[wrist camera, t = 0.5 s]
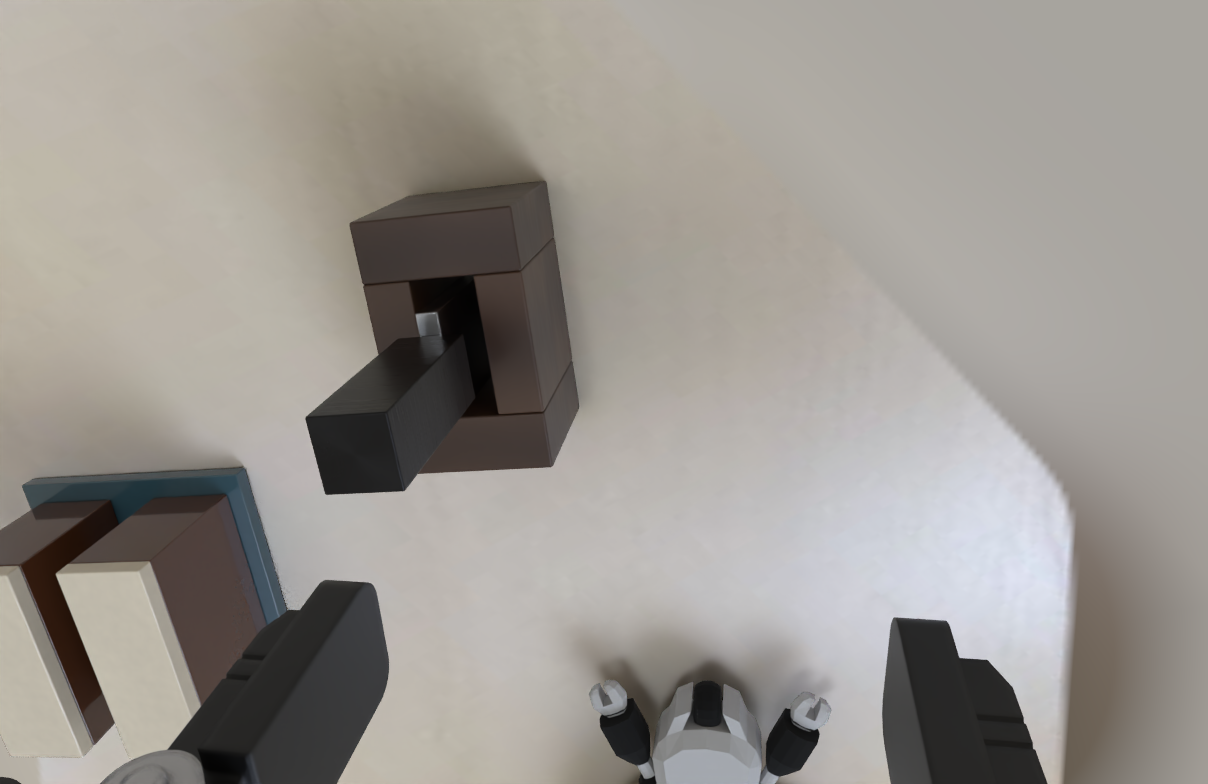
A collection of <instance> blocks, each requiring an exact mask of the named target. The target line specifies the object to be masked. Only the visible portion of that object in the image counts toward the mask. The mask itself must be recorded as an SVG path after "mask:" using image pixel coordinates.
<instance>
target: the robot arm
mask: <svg viewBox="0 0 1208 784" xmlns="http://www.w3.org/2000/svg"><path fill="white" fill-rule="evenodd" d="M388 673H389V658H388V652H387V646H386V641H385V636H384V630H383V625H382V619H381V614H380V609H379V603H378V598H377V593H376V590H375V588H374V586H373V585H372V584H371V583H366V582H350V581H334V580H325V581H323V582H321V583H320V584H319V585H318V586H317V588H316V589H315V590H314V592H313V593H312V594H311V596H310V597H309V599H308V600H307V601H306V603H305V604H304V605H303V607H302V608H301V609H300V610H288V611H286V612H285V613H284V614H282V615H281V616H279V617H278V618H277V619H275V620H274V621H272V622H271V623H270V624H268V625H267V626H265V627H264V628H263V629H261V630H260V631H259V633H258V634H257V635H256V636H255V638H254V639H253V640H252V642H251V643H250V644H249V645H248V647H247V648H246V649H245V651H244V652H243V653H242V658H241V659H238V660H237V661H236V662H235V663H234V665H233V666H232V667H231V668H230V670H229V671H228V672H227V676H226V679H222V680H221V681H220V683H219V684H218V685H217V686H216V688H215V689H214V690H213V692H212V693H211V694H210V695H209V697H208V698H207V699H206V701H205V702H204V703H203V704H202V706H201V707H200V708H199V709H198V711H197V712H196V713H195V715H194V716H193V717H192V718H191V720H190V721H189V722H188V724H187V725H186V726H185V727H184V729H183V730H182V731H181V733H180V734H179V735H178V736H177V738H176V739H175V740H174V742H173V743H172V744H171V745H170V747H169V748H168V749H167V750H161V751H156V752H152V753H149V754H145V755H142V756H140V757H138V758H135V759H133V760H131V761H129V762H127V763H126V764H124V765H122V766H121V767H119V768H118V769H116V770H115V771H114V772H112V773H111V774H110V775H109V776H107V777H106V778H105V779H104V780H103V781H102V782H101V783H100V784H337V782H338V780H339V778H340V776H341V774H342V773H343V771H344V769H345V767H346V765H347V763H348V761H349V759H350V758H351V756H352V754H353V752H354V750H355V748H356V746H357V744H358V743H359V741H360V739H361V737H362V735H363V733H364V731H365V730H366V728H367V726H368V724H369V722H370V720H371V718H372V716H373V715H374V713H375V711H376V709H377V707H378V705H379V703H380V701H381V699H382V697H383V695H384V692H385V689H386V685H387V680H388ZM882 719H883V736H884V745H885V751H886V757H887V763H888V769H889V775H890V781H891V784H1047V781H1046V778H1045V776H1044V773H1043V770H1042V767H1041V765H1040V762H1039V759H1038V756H1037V753H1036V751H1035V750H1034V749H1033V742H1032V740H1031V737H1030V734H1029V731H1028V729H1027V726H1026V724H1024V718H1023V715H1022V712H1021V709H1020V706H1019V704H1018V701H1017V698H1016V695H1015V693H1014V690H1013V687H1012V686H1011V685H1010V684H1009V683H1008V682H1007V681H1006V680H1005V679H1004V678H1003V677H1002V675H1001V674H1000V673H999V672H998V671H997V670H996V669H995V668H994V667H993V666H992V665H991V663H990V662H989V661H988V660H979V659H965V658H959V656H958V652H957V649H956V646H955V642H954V639H953V636H952V632H951V629H950V626H949V624H948V622H947V621H941V620H926V619H910V618H893V620H892V623H891V629H890V638H889V647H888V656H887V666H886V675H885V684H884V693H883V709H882ZM0 784H21V783H19V782H18V781H17V780H14V779H11V778H6V777H0Z"/></svg>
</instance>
